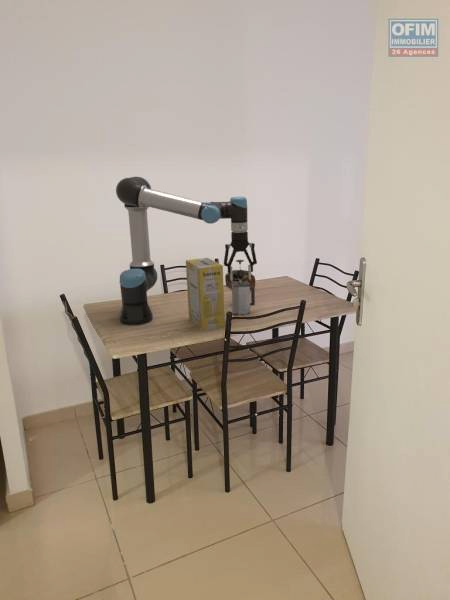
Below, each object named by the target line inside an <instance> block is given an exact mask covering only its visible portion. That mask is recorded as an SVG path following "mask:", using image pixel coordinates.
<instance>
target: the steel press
mask: <svg viewBox="0 0 450 600" xmlns="http://www.w3.org/2000/svg"><path fill="white" fill-rule="evenodd" d="M250 290H251V291H250ZM255 300H256V299H255V288H254V287H250V284H249V282H248V281H247V280H245V281H242V283H241V284H239V281H232V288H231V301H232V302H231V306H232V311H231V312H232V315H234V316H242V317H243V316H247V315H251V306H256V304H255V303H256V301H255Z"/></svg>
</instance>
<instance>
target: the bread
mask: <svg viewBox="0 0 450 600" xmlns="http://www.w3.org/2000/svg"><path fill="white" fill-rule="evenodd" d="M236 270H237V269H232V271H236ZM255 277H256V276H255V275H254V274H252V273H251V280H249V278H248V276H247V275H244V277H243V279H244V280H248V281H249V284H250V287H254V288H255V287H256V278H255ZM224 278H225V280H224V281H225V286H226V287H228V286H229V287H228V288H231V289H232V281H231V280H230V274H229V273H228V272H227V273H226V274H225V276H224ZM235 279H237V280H239V279H238V278H233V280H235ZM250 292H251V290H250Z"/></svg>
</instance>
